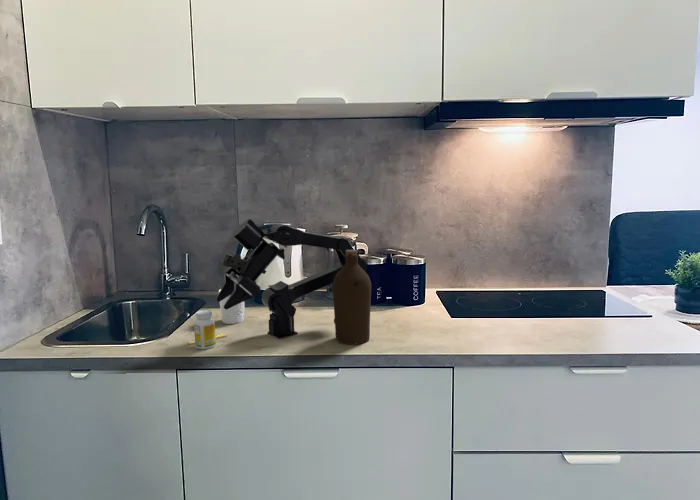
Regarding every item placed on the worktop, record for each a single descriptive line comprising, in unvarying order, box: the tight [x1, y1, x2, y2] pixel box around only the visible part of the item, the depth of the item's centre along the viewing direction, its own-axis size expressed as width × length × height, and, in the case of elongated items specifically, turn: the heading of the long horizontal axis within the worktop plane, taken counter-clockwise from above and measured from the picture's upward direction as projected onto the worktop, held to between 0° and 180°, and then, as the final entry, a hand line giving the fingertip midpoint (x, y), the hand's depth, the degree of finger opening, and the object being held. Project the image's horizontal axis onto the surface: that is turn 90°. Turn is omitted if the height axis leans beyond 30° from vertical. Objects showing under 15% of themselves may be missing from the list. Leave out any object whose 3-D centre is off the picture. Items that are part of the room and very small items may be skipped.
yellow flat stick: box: [187, 333, 228, 346], centre depth 149 cm, size 11×2×1 cm, turn 130°
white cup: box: [218, 288, 245, 325], centre depth 166 cm, size 8×8×10 cm
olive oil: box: [331, 249, 372, 346], centre depth 145 cm, size 11×11×25 cm
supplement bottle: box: [193, 309, 216, 350], centre depth 143 cm, size 5×5×10 cm
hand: (220, 304), depth 144 cm, fingers open, 9 cm apart
